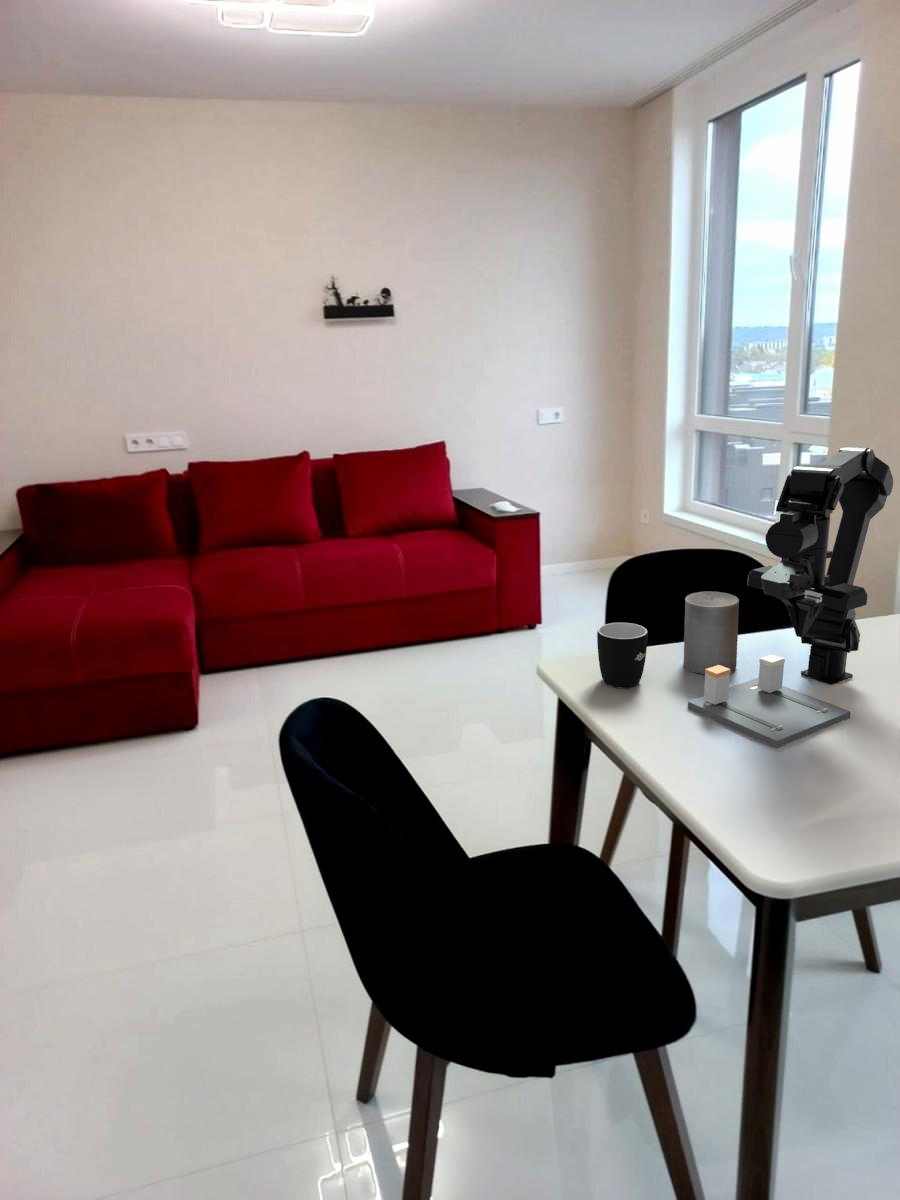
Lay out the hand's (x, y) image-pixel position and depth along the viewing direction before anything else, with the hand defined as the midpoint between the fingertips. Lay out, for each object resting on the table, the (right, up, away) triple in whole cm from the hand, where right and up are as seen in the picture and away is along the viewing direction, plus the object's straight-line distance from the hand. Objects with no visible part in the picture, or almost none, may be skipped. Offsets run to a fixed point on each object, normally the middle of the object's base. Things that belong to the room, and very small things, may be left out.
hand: (800, 636), depth 136 cm
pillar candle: (-9, -7, +21) cm, 23 cm away
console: (-5, -13, 0) cm, 14 cm away
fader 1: (-13, -11, +2) cm, 17 cm away
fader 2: (-3, -9, +6) cm, 11 cm away
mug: (-26, -9, +17) cm, 32 cm away
